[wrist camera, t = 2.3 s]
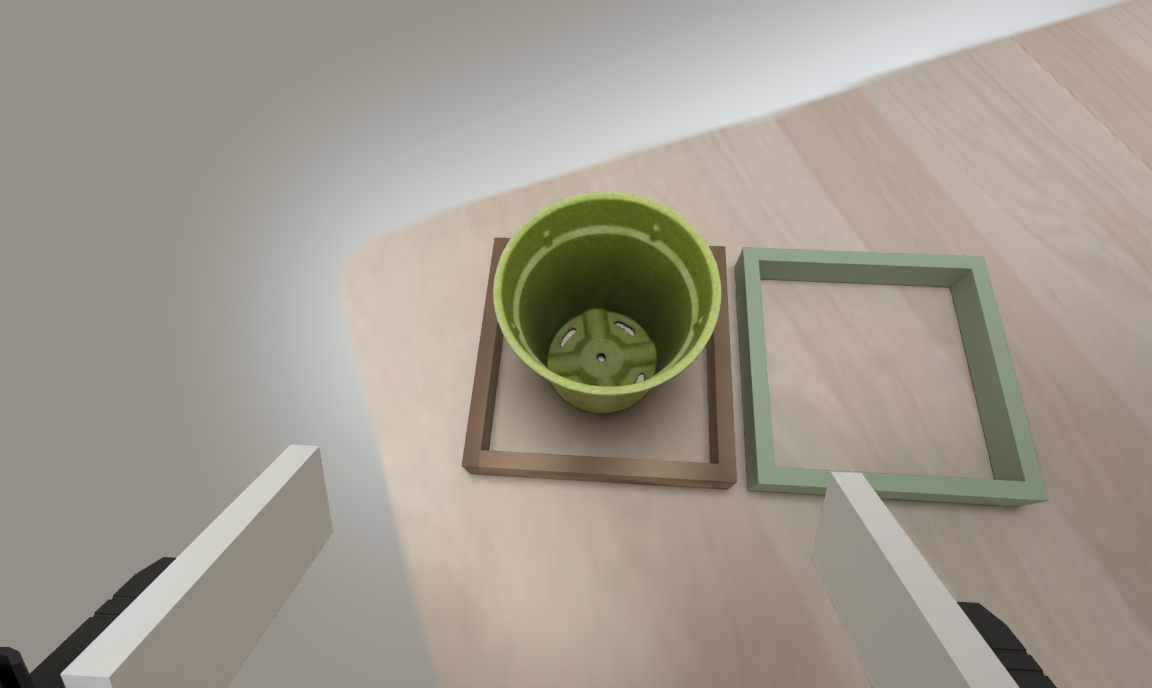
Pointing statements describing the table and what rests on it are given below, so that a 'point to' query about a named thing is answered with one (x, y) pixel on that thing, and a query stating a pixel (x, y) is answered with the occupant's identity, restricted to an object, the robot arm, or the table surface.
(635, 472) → the walnut collar
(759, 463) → the sage green collar
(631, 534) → the table surface
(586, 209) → the plant pot
